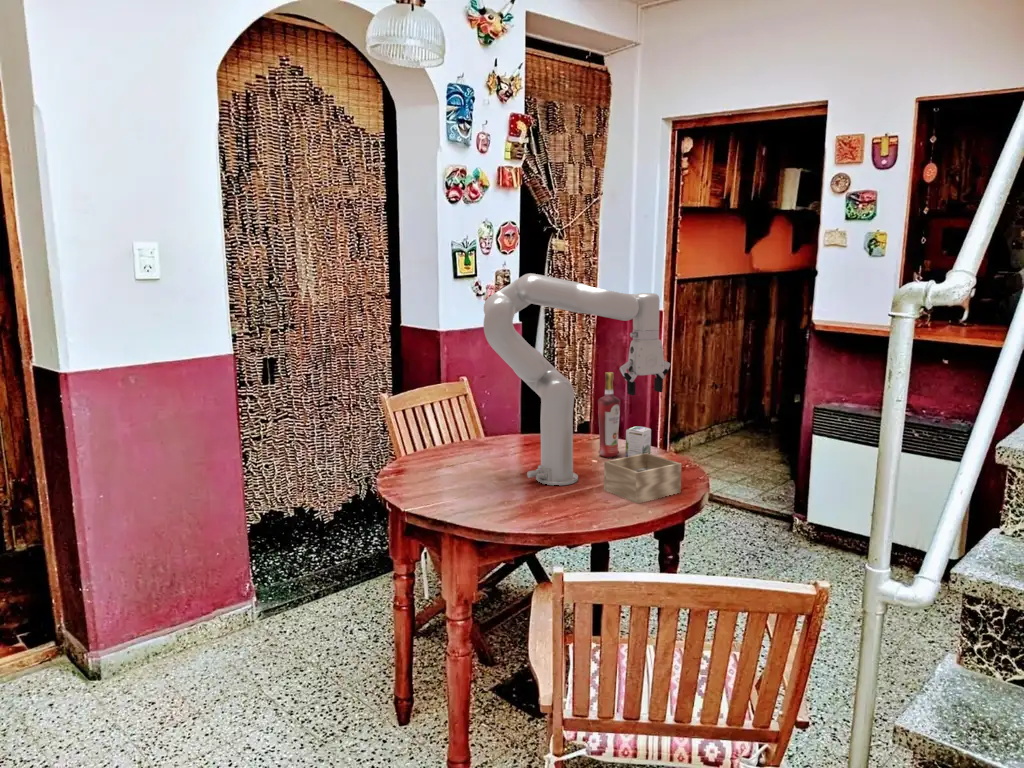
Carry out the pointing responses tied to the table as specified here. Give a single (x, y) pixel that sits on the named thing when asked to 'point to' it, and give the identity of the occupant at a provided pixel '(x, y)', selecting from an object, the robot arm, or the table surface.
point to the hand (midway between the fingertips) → (644, 393)
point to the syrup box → (638, 441)
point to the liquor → (608, 419)
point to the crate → (642, 477)
